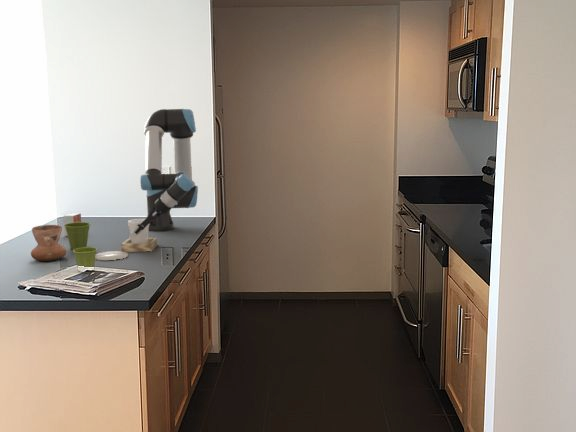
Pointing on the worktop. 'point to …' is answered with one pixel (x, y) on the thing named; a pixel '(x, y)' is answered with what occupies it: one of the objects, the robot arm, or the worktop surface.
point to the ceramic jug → (47, 243)
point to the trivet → (111, 255)
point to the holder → (139, 246)
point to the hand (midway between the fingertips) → (134, 235)
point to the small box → (71, 219)
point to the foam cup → (143, 235)
